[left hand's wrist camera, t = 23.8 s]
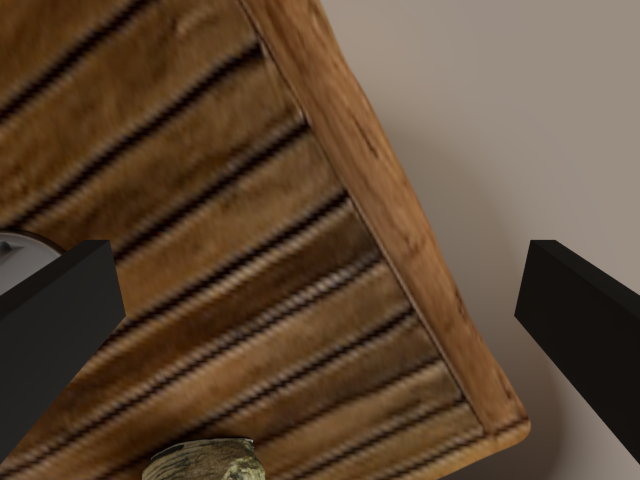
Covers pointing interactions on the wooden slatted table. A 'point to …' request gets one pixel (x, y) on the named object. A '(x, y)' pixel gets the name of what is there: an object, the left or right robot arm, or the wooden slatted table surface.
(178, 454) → the fossil
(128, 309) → the wooden slatted table surface
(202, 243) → the wooden slatted table surface
